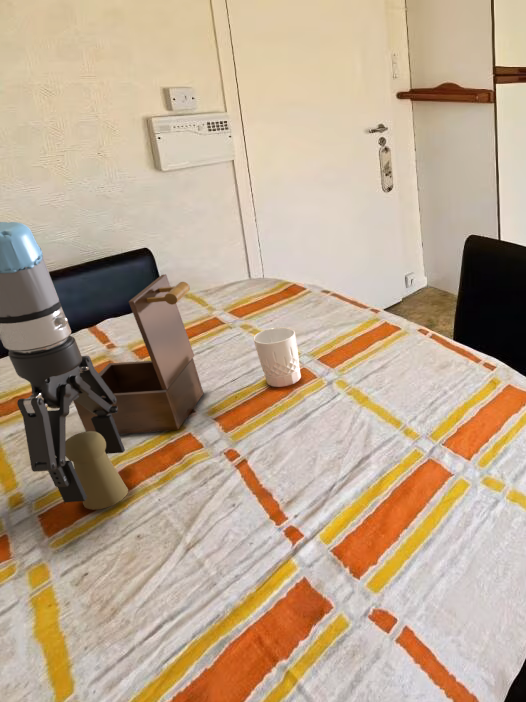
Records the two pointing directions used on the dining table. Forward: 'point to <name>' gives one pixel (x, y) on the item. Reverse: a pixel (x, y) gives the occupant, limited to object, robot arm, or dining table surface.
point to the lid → (163, 328)
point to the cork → (95, 470)
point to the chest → (147, 397)
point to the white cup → (278, 356)
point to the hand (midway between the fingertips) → (96, 474)
